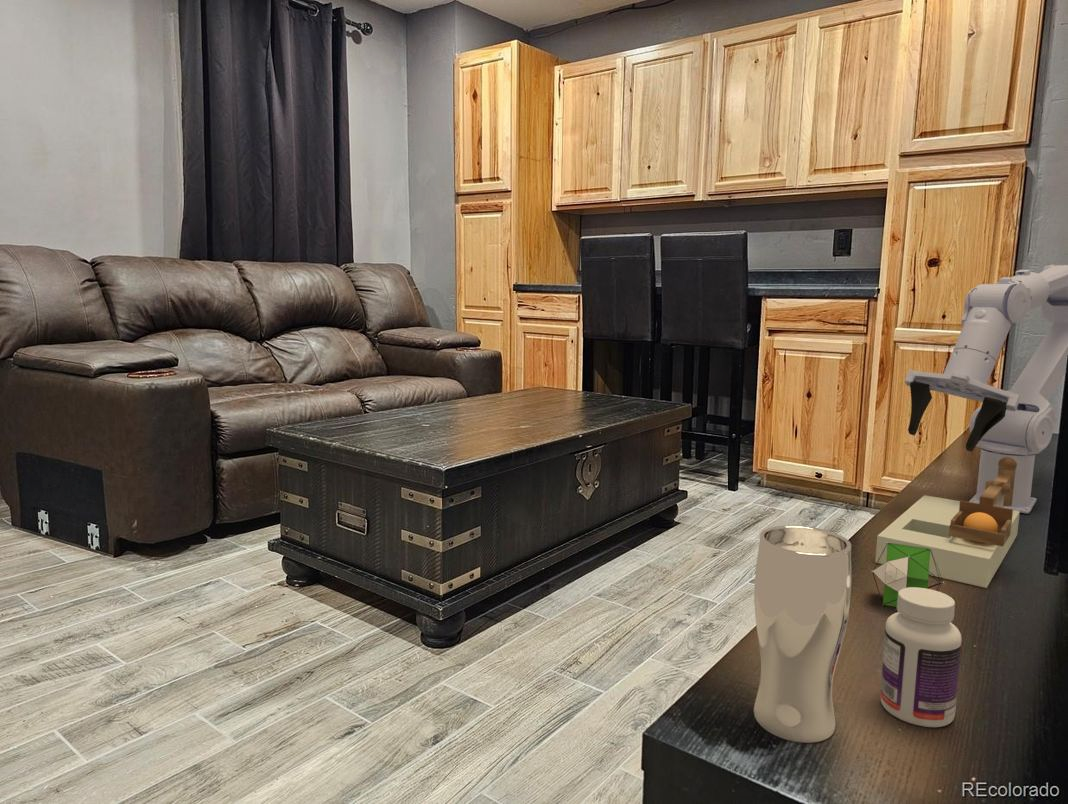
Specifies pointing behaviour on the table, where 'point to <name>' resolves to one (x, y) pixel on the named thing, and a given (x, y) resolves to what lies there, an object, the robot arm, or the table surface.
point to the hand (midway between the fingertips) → (939, 440)
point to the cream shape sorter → (946, 541)
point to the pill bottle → (921, 659)
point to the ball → (981, 522)
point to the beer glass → (800, 628)
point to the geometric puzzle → (904, 571)
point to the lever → (989, 508)
